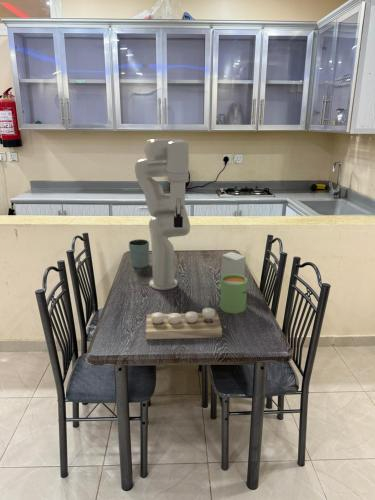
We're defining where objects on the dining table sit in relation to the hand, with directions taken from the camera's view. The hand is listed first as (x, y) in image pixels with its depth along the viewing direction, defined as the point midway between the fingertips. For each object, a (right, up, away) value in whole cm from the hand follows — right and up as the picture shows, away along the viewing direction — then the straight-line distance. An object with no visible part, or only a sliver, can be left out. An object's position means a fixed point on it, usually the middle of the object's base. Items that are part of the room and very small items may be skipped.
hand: (178, 226), depth 146 cm
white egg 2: (+5, -36, -5) cm, 37 cm away
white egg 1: (-1, -36, -5) cm, 37 cm away
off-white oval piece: (-7, -36, -6) cm, 37 cm away
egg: (+11, -35, -5) cm, 37 cm away
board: (+2, -37, -5) cm, 37 cm away
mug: (+22, -31, +12) cm, 40 cm away
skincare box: (+23, -26, +27) cm, 44 cm away
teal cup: (-21, -16, +54) cm, 60 cm away
